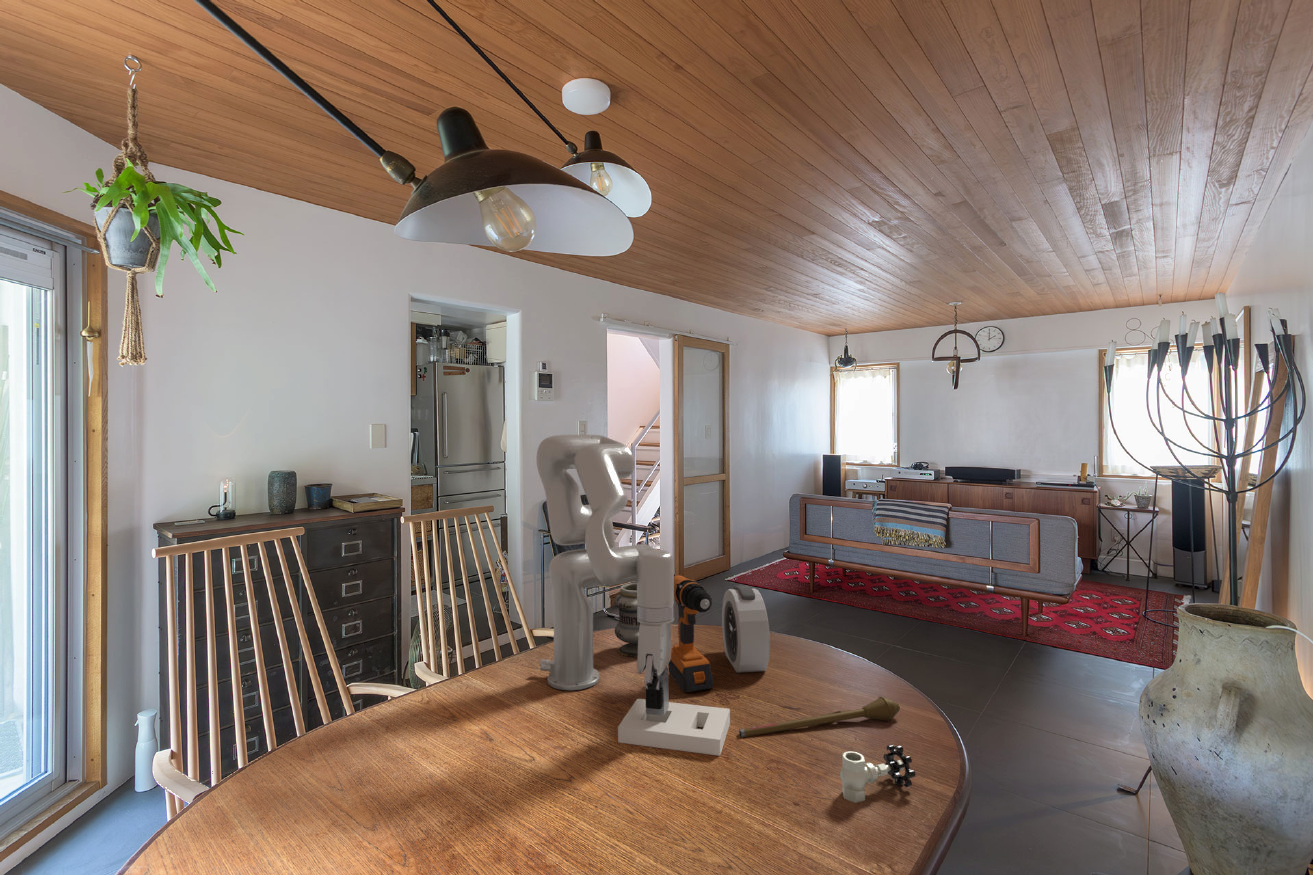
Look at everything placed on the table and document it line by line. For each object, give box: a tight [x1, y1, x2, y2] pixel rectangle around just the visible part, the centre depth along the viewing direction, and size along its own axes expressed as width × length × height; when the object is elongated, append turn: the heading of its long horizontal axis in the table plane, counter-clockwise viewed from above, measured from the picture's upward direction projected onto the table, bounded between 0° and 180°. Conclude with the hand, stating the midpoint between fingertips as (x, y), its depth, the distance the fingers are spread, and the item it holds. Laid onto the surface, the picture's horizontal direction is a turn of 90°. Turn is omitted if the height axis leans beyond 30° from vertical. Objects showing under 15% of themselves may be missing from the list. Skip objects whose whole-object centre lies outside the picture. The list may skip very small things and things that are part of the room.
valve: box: [839, 744, 917, 804], centre depth 101 cm, size 7×7×12 cm
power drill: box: [667, 574, 714, 693], centre depth 143 cm, size 22×7×25 cm, turn 16°
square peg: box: [644, 667, 670, 716], centre depth 122 cm, size 4×4×8 cm
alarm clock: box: [721, 584, 771, 674], centre depth 158 cm, size 21×8×20 cm, turn 6°
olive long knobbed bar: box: [738, 696, 901, 738], centre depth 123 cm, size 5×35×5 cm
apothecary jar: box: [614, 582, 640, 658], centre depth 167 cm, size 12×12×18 cm
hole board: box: [617, 698, 731, 757], centre depth 121 cm, size 20×13×3 cm, turn 75°
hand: (656, 702), depth 122 cm, fingers closed on square peg, 3 cm apart
